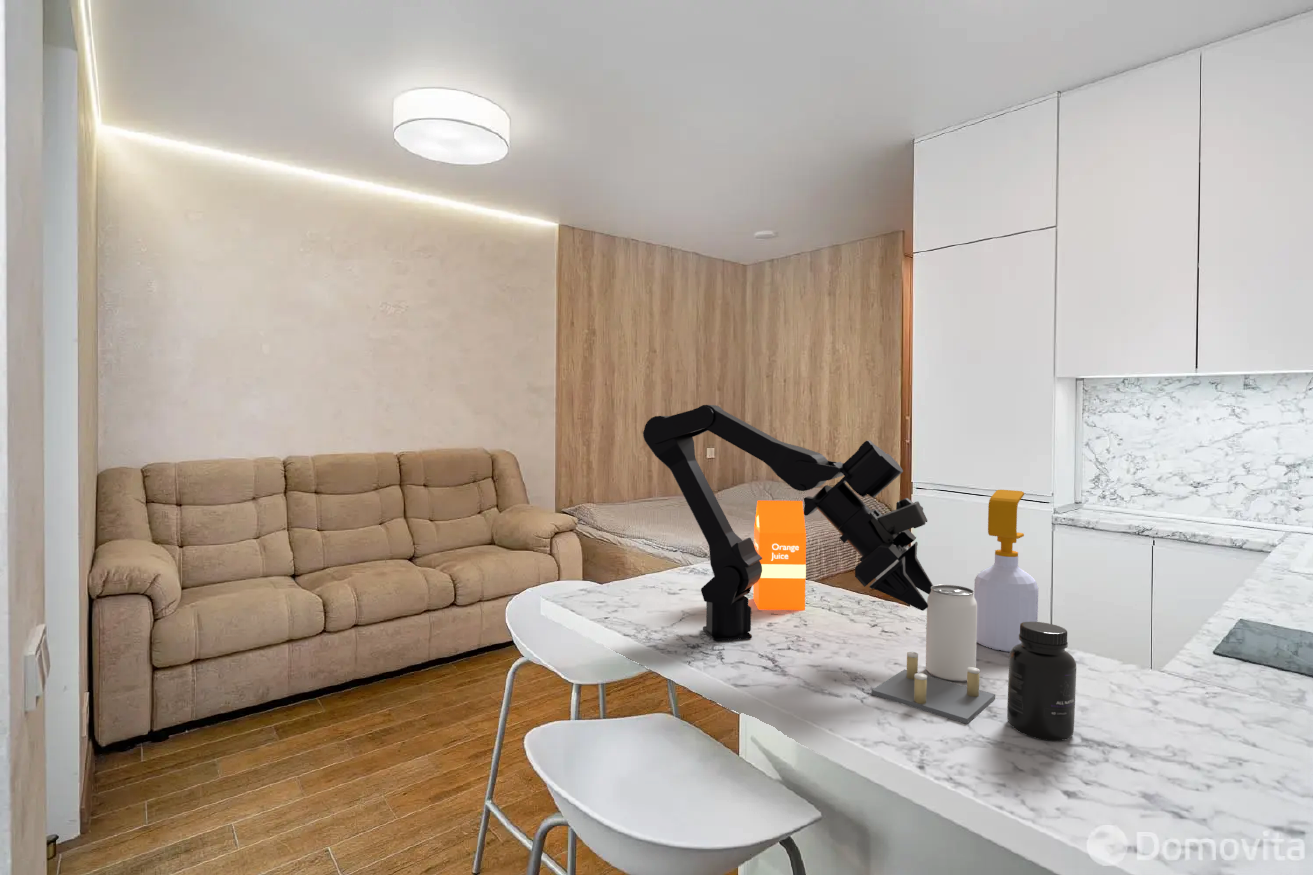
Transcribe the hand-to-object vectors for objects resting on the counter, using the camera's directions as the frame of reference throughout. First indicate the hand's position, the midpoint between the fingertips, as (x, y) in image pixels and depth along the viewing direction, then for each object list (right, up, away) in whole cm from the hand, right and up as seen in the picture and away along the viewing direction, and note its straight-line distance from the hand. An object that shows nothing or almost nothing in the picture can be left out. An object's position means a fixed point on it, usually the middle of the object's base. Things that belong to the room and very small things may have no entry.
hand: (929, 600), depth 97 cm
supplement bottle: (+6, -11, -18) cm, 22 cm away
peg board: (-3, -10, -9) cm, 14 cm away
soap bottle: (+17, -10, +12) cm, 23 cm away
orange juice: (-16, -9, +34) cm, 38 cm away
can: (+2, -10, -1) cm, 11 cm away
